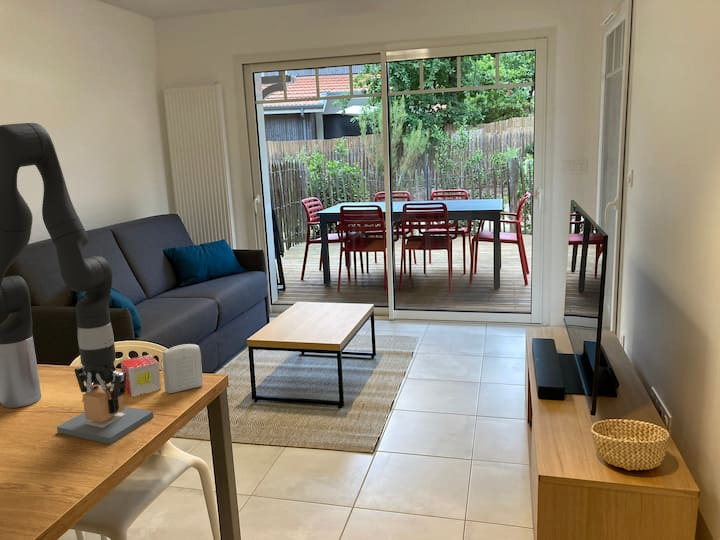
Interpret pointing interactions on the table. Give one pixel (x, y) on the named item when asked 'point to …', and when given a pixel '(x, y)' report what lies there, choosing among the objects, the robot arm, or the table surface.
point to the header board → (106, 425)
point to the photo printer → (182, 368)
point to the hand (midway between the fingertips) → (104, 410)
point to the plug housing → (99, 405)
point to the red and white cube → (141, 375)
